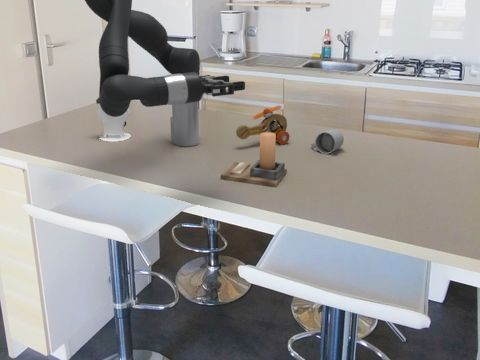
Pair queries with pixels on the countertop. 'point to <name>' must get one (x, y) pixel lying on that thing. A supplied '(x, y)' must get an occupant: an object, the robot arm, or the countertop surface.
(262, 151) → the cylinder
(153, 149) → the countertop surface
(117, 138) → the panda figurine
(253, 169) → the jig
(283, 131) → the toy helicopter
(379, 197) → the countertop surface
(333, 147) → the ceramic mug
